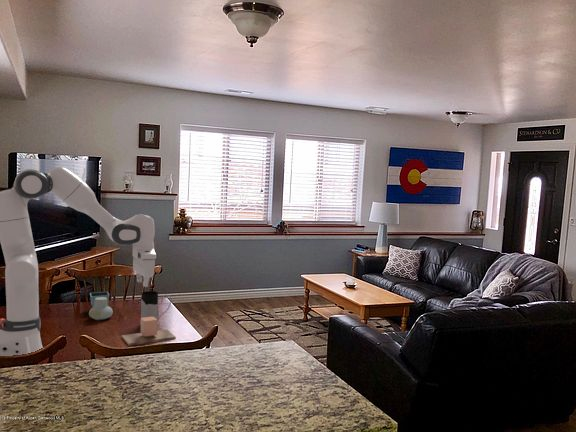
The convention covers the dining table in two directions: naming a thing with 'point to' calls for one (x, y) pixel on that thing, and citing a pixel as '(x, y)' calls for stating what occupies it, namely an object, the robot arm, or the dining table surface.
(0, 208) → the robot arm
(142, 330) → the peach block
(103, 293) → the flower pot
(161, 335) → the post stand
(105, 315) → the air freshener
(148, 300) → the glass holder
